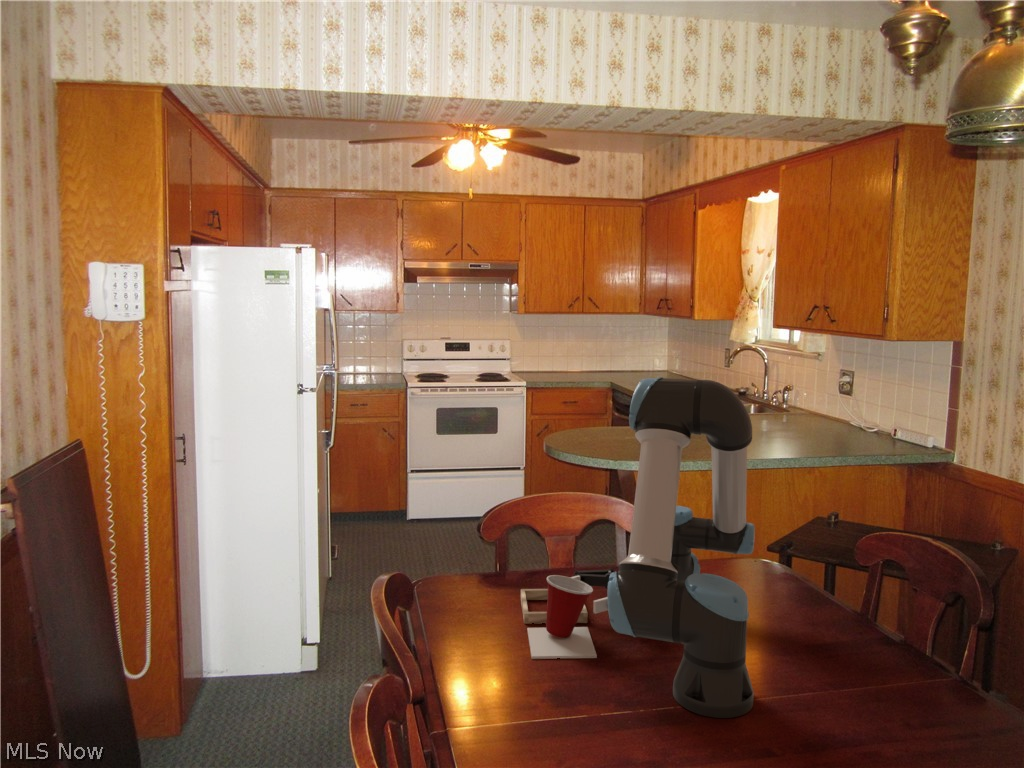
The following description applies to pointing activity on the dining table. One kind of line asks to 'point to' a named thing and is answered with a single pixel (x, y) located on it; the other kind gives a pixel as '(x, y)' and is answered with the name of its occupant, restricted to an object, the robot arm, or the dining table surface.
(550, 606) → the plastic cup
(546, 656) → the white tile
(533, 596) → the birch collar
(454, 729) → the dining table surface
